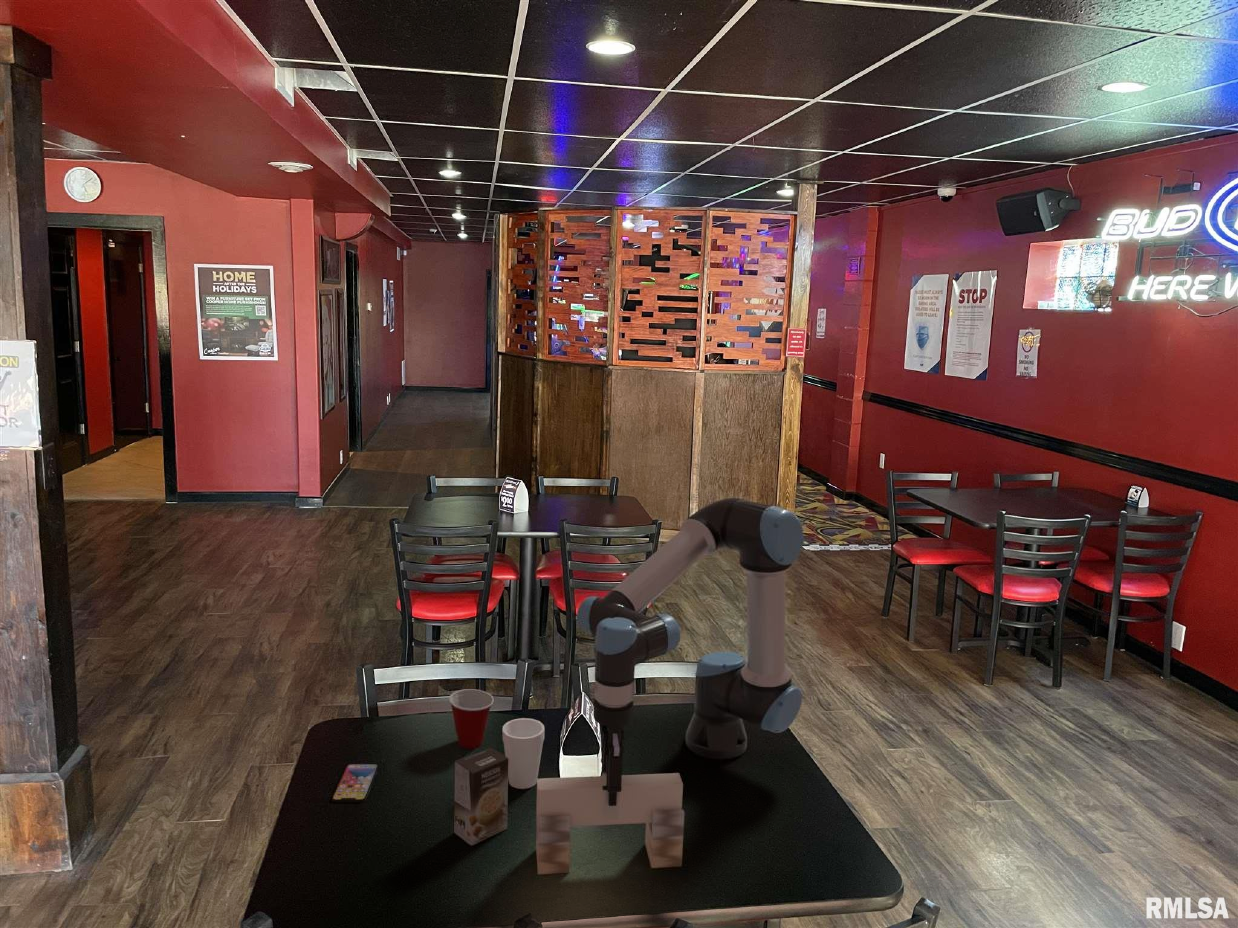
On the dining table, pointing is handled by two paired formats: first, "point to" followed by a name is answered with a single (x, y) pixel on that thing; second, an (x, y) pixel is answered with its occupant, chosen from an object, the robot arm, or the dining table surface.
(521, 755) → the foam cup
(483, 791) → the coffee box
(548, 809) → the rail
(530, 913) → the dining table surface
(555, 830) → the brackets
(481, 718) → the plastic cup
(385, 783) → the dining table surface
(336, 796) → the smartphone
